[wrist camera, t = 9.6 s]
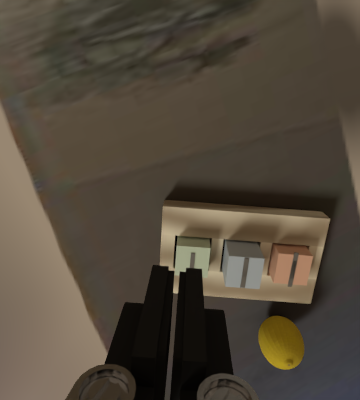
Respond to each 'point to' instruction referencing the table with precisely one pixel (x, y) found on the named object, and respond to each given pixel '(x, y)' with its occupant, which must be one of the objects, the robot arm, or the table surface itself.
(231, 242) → the key slate
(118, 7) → the table surface
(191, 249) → the key sage
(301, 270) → the key terracotta
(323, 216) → the keypad board
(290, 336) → the lemon
